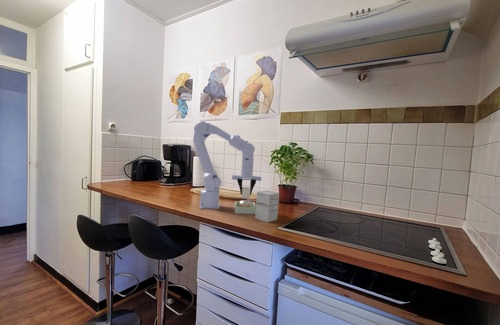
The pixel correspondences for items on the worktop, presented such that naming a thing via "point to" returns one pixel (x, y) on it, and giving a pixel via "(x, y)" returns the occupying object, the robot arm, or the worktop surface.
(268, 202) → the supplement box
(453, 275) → the worktop surface
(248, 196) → the cream carton
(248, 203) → the steel tin
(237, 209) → the sage tote
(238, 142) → the robot arm
